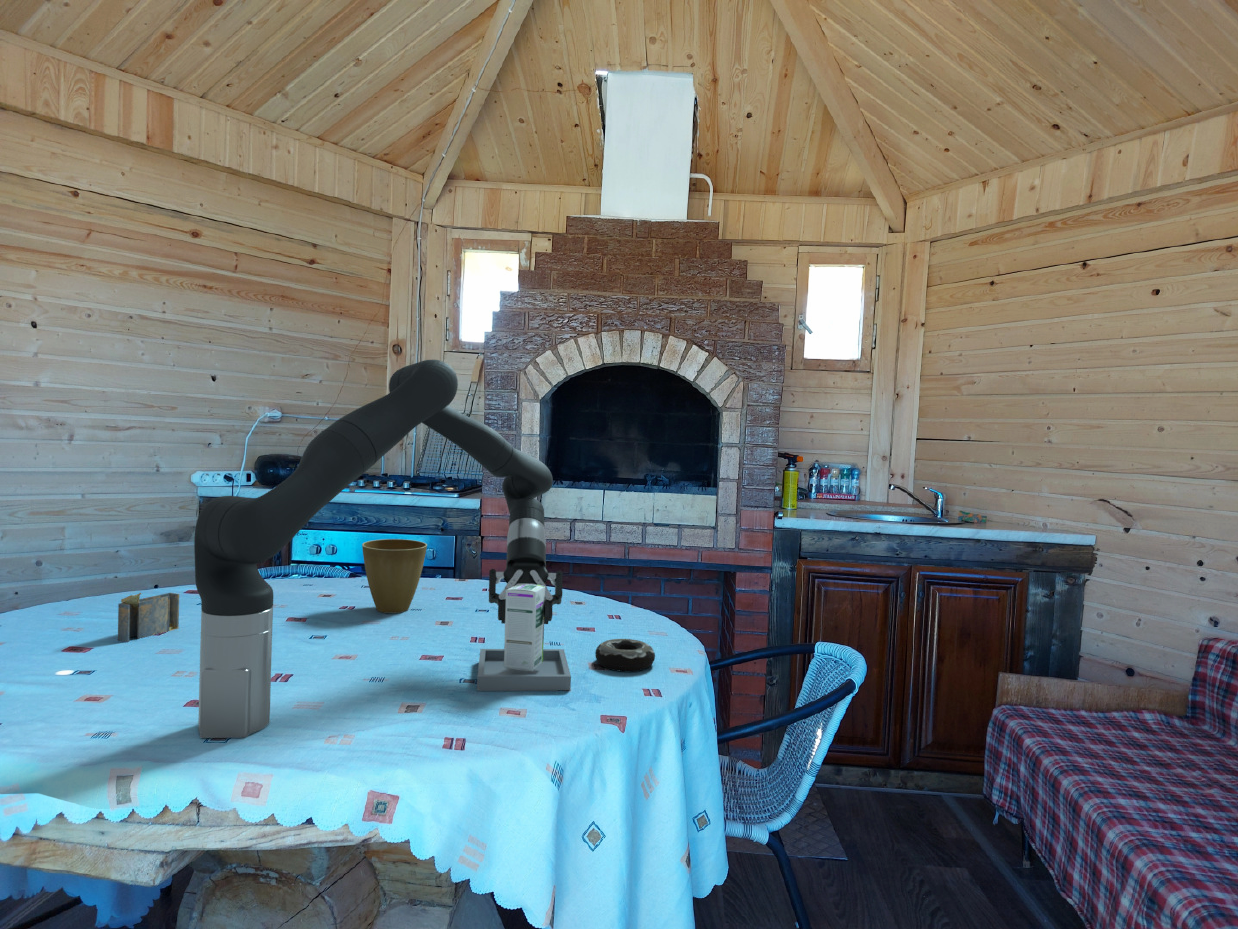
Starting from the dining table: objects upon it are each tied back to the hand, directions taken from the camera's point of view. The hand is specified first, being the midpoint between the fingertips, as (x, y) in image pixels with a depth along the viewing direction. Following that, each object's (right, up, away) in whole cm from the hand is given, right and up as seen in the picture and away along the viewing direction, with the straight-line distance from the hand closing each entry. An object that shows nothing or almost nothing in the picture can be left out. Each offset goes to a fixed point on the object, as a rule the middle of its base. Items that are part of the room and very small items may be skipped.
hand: (525, 621), depth 134 cm
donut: (+18, -11, +12) cm, 24 cm away
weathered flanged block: (-78, -7, +16) cm, 80 cm away
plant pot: (-38, -7, +45) cm, 59 cm away
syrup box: (-1, -9, +1) cm, 9 cm away
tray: (-1, -10, +2) cm, 10 cm away
